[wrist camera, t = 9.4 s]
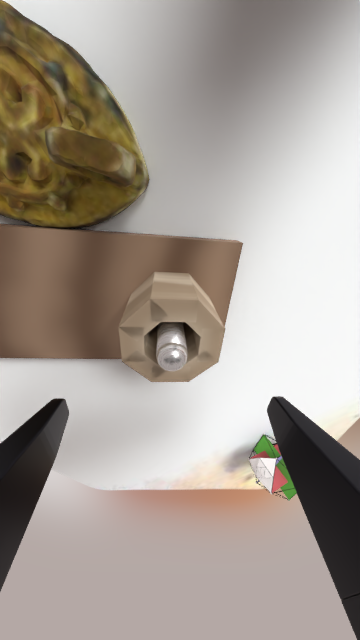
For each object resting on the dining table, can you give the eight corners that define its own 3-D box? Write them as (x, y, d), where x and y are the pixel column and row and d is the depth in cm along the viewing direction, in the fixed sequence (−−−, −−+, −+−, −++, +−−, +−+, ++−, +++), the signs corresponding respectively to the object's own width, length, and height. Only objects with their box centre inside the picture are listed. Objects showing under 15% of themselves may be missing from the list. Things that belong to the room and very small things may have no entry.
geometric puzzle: (316, 445, 28) (317, 505, 21) (293, 469, 31) (288, 527, 24) (265, 414, 30) (253, 459, 24) (249, 439, 34) (235, 485, 27)
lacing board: (237, 240, 15) (242, 243, 14) (214, 352, 20) (217, 360, 19) (-83, 217, 13) (-104, 218, 12) (-14, 349, 18) (-25, 357, 17)
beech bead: (212, 274, 15) (231, 301, 11) (202, 340, 18) (214, 381, 14) (129, 270, 14) (115, 297, 10) (134, 339, 18) (124, 382, 13)
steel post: (181, 299, 16) (191, 353, 10) (179, 318, 17) (187, 378, 11) (159, 298, 16) (155, 352, 10) (158, 318, 17) (155, 378, 11)
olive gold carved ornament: (-76, 192, 13) (142, 243, 16) (-174, 197, 10) (133, 263, 12) (-189, -67, 8) (164, 69, 11) (-507, -284, 4) (159, 7, 7)
